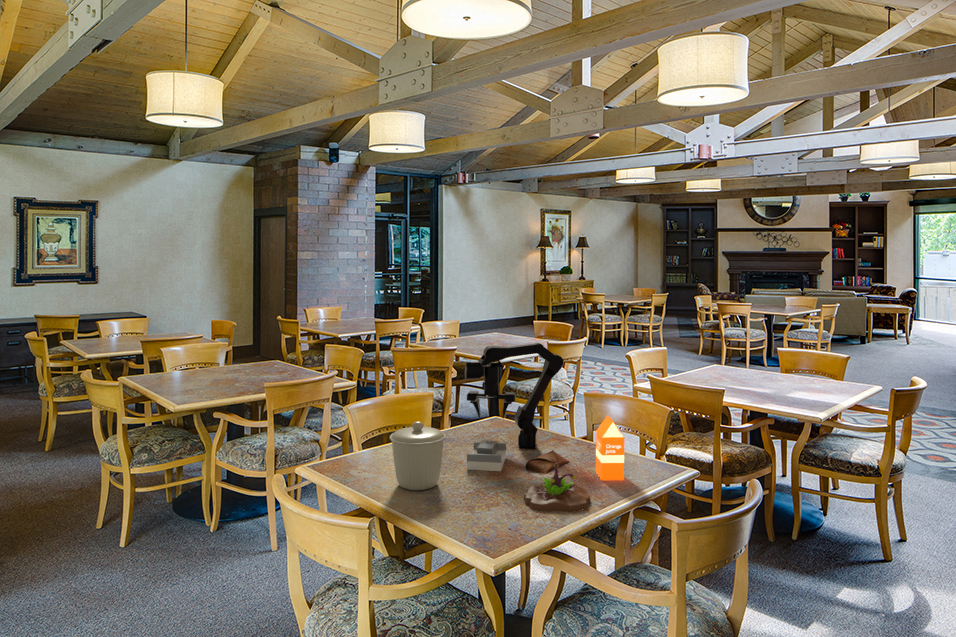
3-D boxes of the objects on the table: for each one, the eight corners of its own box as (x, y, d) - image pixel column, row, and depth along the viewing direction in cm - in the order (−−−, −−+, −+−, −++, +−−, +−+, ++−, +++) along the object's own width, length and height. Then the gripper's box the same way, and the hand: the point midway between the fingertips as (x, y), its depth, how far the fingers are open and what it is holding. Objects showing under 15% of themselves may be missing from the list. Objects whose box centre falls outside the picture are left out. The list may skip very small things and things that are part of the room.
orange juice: (617, 471, 219) (618, 415, 217) (624, 480, 210) (625, 421, 208) (595, 471, 219) (595, 415, 217) (600, 480, 210) (601, 421, 208)
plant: (588, 490, 202) (588, 456, 201) (591, 514, 182) (592, 476, 181) (525, 487, 204) (525, 453, 203) (522, 511, 185) (522, 473, 184)
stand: (506, 457, 235) (506, 442, 234) (500, 471, 219) (501, 455, 219) (474, 455, 237) (474, 441, 236) (466, 469, 221) (466, 454, 220)
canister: (383, 493, 198) (382, 427, 196) (398, 474, 215) (397, 414, 214) (439, 496, 195) (439, 430, 193) (450, 477, 213) (450, 416, 211)
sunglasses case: (546, 474, 215) (537, 456, 217) (531, 481, 219) (522, 463, 221) (571, 461, 230) (563, 444, 231) (556, 467, 234) (549, 451, 235)
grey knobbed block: (492, 459, 222) (492, 445, 222) (477, 458, 223) (477, 444, 223) (496, 451, 232) (497, 437, 231) (482, 450, 233) (482, 437, 233)
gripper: (517, 375, 251) (517, 414, 252) (470, 374, 253) (471, 412, 255) (514, 380, 240) (514, 421, 241) (466, 379, 242) (466, 419, 244)
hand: (491, 418), depth 245 cm, fingers open, 9 cm apart
